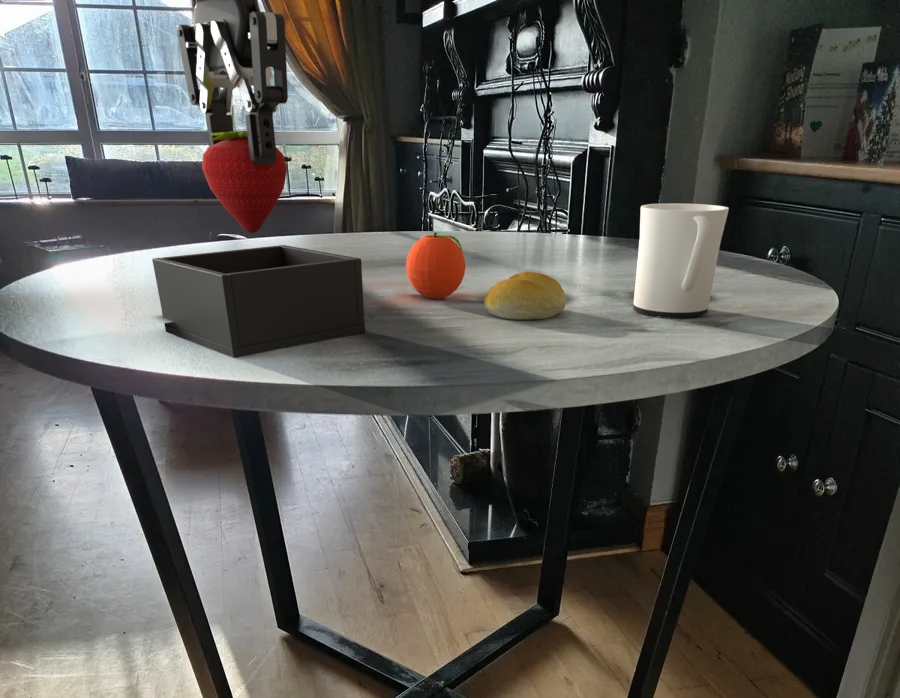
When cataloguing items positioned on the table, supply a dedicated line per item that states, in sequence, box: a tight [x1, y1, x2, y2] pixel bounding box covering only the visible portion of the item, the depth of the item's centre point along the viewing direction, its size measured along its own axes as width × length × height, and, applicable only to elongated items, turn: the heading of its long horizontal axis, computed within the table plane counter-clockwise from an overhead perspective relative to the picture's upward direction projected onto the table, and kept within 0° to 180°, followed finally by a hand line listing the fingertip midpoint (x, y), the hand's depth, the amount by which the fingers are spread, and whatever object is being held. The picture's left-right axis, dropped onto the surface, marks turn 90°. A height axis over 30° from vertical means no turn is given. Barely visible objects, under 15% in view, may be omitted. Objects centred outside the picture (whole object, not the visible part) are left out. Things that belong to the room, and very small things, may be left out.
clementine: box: [405, 232, 466, 300], centre depth 91 cm, size 8×7×7 cm
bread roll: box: [483, 271, 567, 321], centre depth 84 cm, size 8×9×4 cm
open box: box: [151, 244, 366, 358], centre depth 75 cm, size 15×14×7 cm
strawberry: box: [201, 105, 288, 234], centre depth 70 cm, size 6×8×10 cm
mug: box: [632, 203, 730, 319], centre depth 83 cm, size 11×9×10 cm
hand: (244, 162), depth 70 cm, fingers closed on strawberry, 6 cm apart
